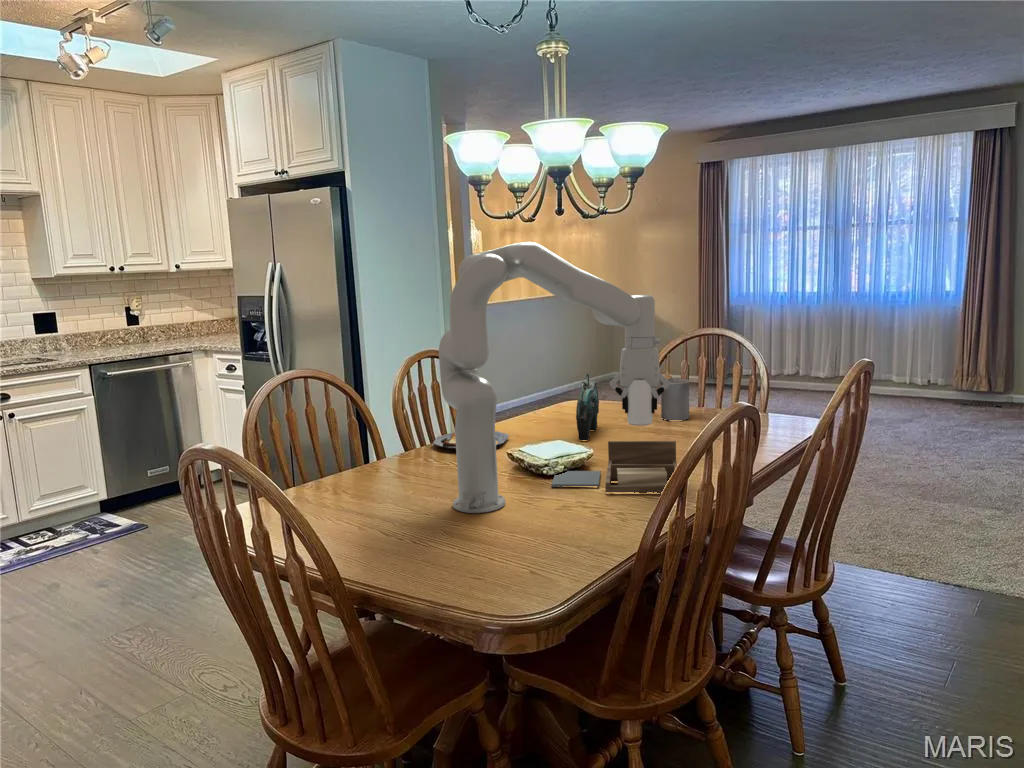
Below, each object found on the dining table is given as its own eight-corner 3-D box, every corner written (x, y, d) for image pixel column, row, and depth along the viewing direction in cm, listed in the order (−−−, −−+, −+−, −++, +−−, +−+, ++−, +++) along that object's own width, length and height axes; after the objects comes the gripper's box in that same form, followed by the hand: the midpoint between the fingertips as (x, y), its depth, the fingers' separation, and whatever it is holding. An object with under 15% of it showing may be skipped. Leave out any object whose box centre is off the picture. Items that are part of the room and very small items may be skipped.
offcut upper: (667, 482, 187) (666, 473, 186) (618, 483, 188) (618, 473, 187) (664, 477, 191) (664, 467, 191) (617, 477, 193) (616, 468, 192)
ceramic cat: (584, 427, 259) (583, 370, 255) (603, 428, 257) (602, 370, 254) (573, 441, 240) (571, 379, 237) (593, 442, 238) (591, 379, 235)
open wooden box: (680, 494, 183) (680, 463, 181) (605, 494, 186) (604, 463, 184) (675, 469, 204) (675, 440, 203) (609, 469, 207) (608, 441, 206)
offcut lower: (667, 492, 187) (667, 482, 187) (618, 492, 189) (618, 483, 188) (666, 486, 192) (666, 477, 191) (618, 486, 193) (618, 477, 193)
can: (652, 426, 192) (652, 379, 191) (626, 425, 194) (626, 379, 192) (652, 420, 199) (652, 375, 197) (627, 420, 200) (627, 375, 198)
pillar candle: (657, 416, 270) (657, 375, 268) (684, 415, 271) (683, 374, 269) (666, 423, 261) (665, 380, 258) (693, 420, 262) (693, 378, 259)
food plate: (499, 454, 228) (498, 442, 228) (425, 454, 233) (424, 443, 232) (513, 436, 253) (513, 426, 252) (446, 437, 257) (446, 427, 257)
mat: (598, 488, 191) (598, 484, 191) (551, 487, 193) (551, 484, 193) (600, 474, 203) (600, 471, 202) (556, 474, 205) (556, 471, 204)
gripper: (673, 341, 195) (672, 409, 198) (606, 342, 198) (606, 409, 201) (674, 344, 188) (674, 415, 191) (605, 345, 191) (605, 415, 194)
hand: (639, 411), depth 196 cm, fingers closed on can, 6 cm apart
